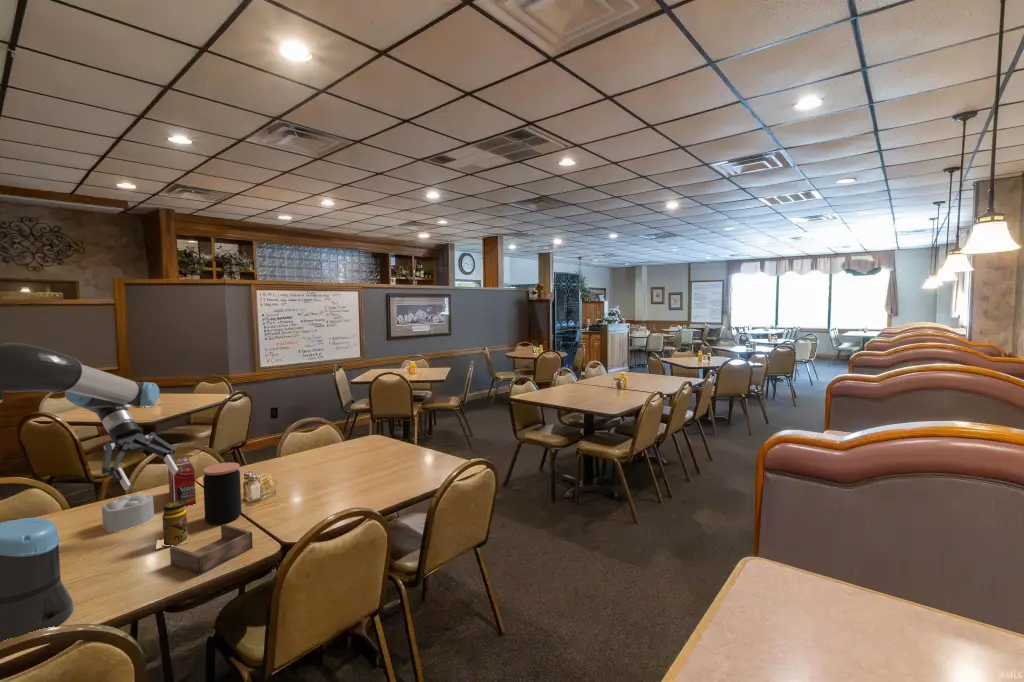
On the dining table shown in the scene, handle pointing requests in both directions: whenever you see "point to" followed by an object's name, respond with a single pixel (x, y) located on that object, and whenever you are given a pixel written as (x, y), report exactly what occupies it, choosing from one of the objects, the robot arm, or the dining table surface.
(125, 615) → the dining table surface
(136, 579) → the dining table surface
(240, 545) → the caddy
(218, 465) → the coffee jar
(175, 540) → the condiment
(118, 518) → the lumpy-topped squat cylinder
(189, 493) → the ice cream box
